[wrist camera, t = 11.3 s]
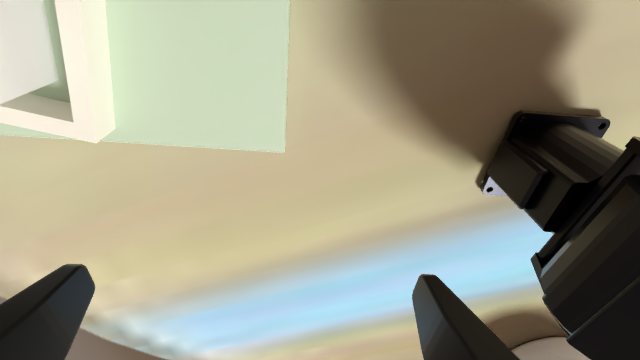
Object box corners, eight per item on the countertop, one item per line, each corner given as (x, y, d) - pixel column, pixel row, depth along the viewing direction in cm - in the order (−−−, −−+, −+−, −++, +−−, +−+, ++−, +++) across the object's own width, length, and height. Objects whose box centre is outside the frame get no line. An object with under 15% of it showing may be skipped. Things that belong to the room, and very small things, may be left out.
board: (296, -183, 12) (295, -195, 12) (285, 145, 21) (284, 152, 20) (-269, -270, 11) (-318, -291, 10) (-36, 124, 19) (-52, 131, 18)
